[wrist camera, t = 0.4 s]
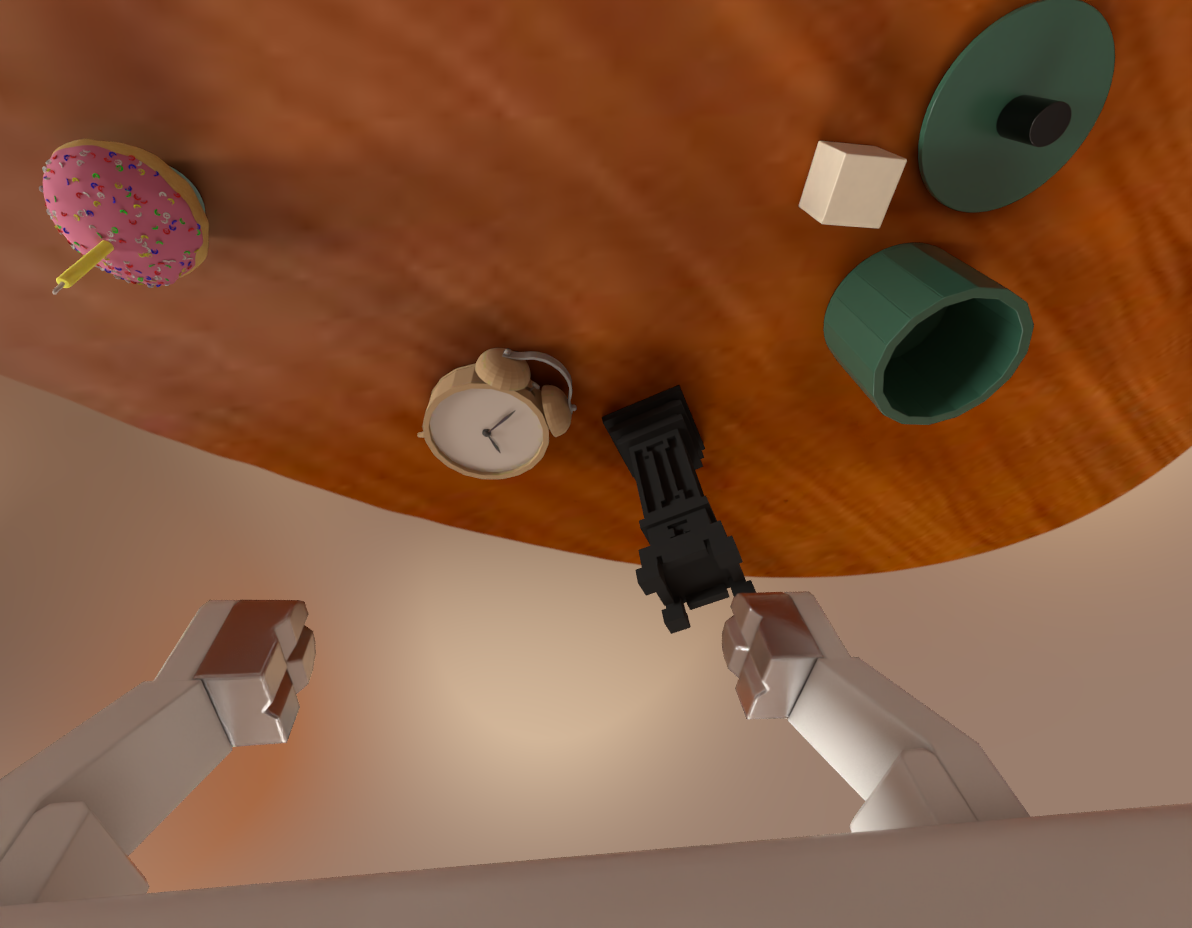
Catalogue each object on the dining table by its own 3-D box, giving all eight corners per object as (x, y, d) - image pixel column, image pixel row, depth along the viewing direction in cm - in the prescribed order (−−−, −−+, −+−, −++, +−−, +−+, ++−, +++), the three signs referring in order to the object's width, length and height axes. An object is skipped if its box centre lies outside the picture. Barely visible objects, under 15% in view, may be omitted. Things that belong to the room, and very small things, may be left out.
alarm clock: (394, 435, 49) (505, 342, 42) (409, 399, 53) (514, 307, 45) (491, 497, 55) (603, 426, 48) (499, 461, 59) (605, 390, 51)
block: (818, 140, 40) (845, 153, 36) (876, 146, 40) (907, 159, 37) (797, 206, 43) (821, 224, 39) (852, 210, 43) (879, 228, 40)
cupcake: (229, 277, 42) (146, 353, 33) (95, 230, 39) (-37, 299, 30) (237, 162, 38) (142, 214, 28) (86, 99, 35) (-75, 135, 25)
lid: (970, -15, 35) (1020, -17, 31) (1144, 10, 37) (1210, 11, 33) (884, 201, 43) (916, 219, 40) (1030, 214, 45) (1073, 232, 41)
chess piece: (703, 444, 57) (767, 605, 42) (631, 472, 59) (668, 637, 43) (679, 384, 52) (741, 543, 37) (601, 417, 54) (630, 582, 38)
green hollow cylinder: (853, 237, 45) (916, 283, 37) (982, 247, 46) (1066, 292, 39) (805, 364, 52) (850, 423, 45) (918, 369, 54) (979, 426, 46)
